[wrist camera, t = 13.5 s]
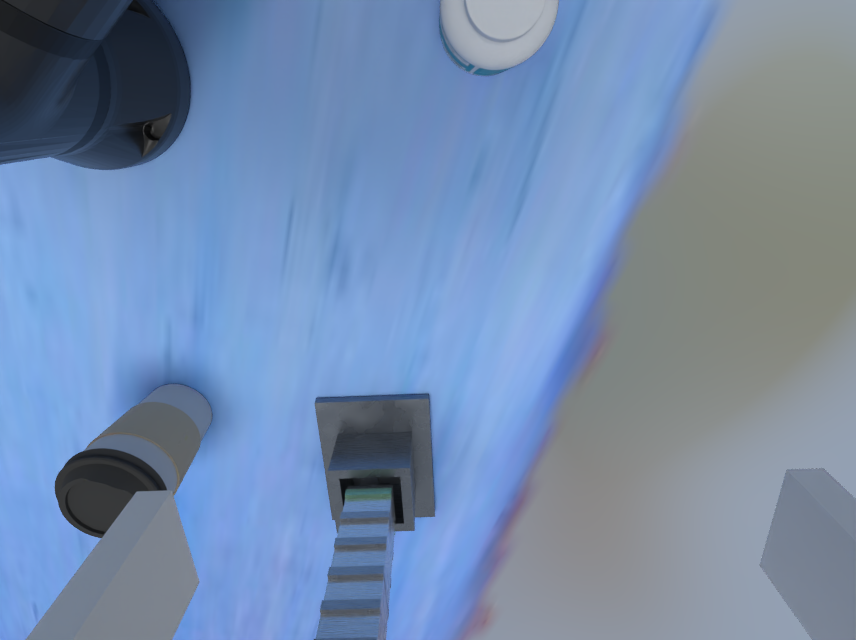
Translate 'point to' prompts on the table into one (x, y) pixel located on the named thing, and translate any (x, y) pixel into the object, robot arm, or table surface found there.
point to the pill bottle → (494, 32)
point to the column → (360, 567)
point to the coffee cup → (133, 457)
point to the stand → (379, 451)
